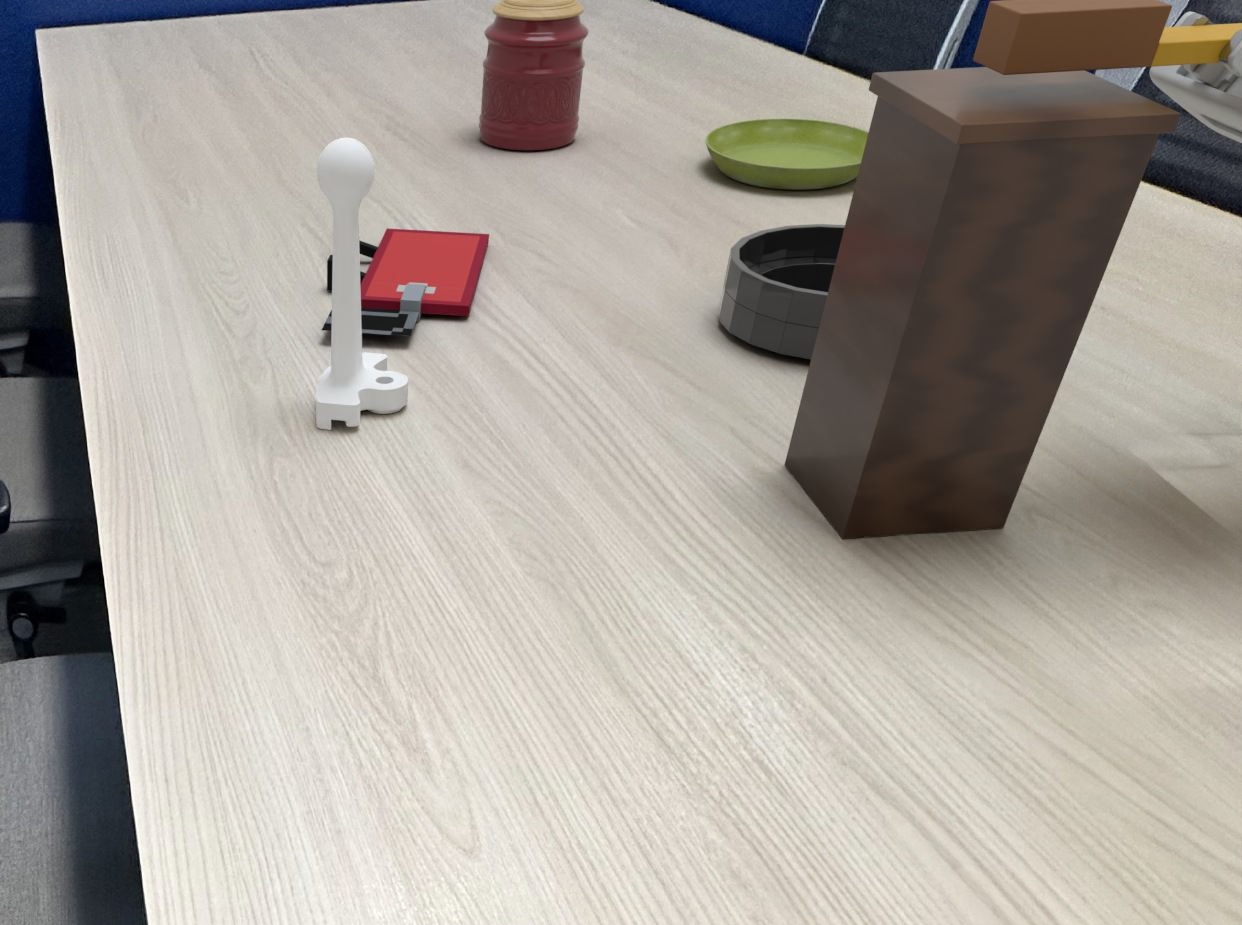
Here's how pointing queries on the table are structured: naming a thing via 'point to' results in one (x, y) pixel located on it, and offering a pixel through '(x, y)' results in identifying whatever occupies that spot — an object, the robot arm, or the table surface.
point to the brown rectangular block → (1092, 36)
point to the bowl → (780, 286)
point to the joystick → (351, 299)
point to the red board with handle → (416, 278)
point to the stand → (963, 290)
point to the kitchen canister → (532, 74)
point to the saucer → (788, 152)
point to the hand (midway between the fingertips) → (1208, 34)
